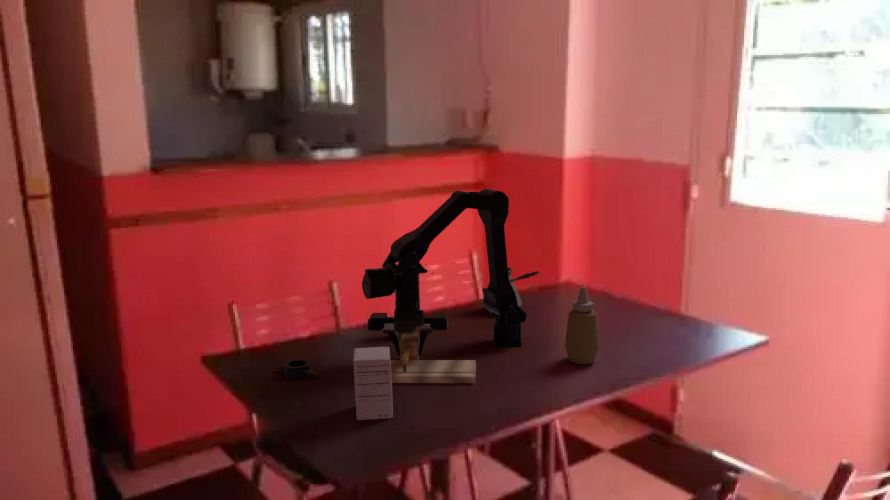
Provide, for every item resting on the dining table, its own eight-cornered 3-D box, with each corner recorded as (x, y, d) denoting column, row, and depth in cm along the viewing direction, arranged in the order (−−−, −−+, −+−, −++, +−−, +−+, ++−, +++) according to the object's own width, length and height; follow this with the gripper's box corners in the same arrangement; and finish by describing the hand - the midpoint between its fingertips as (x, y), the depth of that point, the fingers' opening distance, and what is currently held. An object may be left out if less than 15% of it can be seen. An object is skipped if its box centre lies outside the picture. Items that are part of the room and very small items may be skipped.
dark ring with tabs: (287, 386, 161) (286, 373, 160) (276, 371, 170) (275, 359, 169) (320, 379, 164) (319, 367, 164) (308, 365, 173) (307, 353, 173)
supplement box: (356, 405, 150) (353, 347, 147) (392, 403, 150) (390, 345, 147) (355, 421, 142) (352, 360, 140) (393, 418, 143) (390, 358, 140)
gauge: (419, 357, 176) (418, 333, 175) (413, 381, 162) (412, 355, 160) (403, 357, 177) (402, 334, 175) (395, 381, 162) (394, 355, 161)
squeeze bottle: (602, 357, 173) (604, 284, 170) (594, 368, 166) (596, 293, 163) (569, 353, 177) (570, 281, 173) (560, 364, 170) (561, 290, 166)
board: (475, 366, 169) (475, 359, 169) (475, 383, 160) (475, 376, 159) (382, 366, 171) (382, 359, 170) (376, 382, 161) (375, 375, 161)
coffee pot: (474, 311, 213) (473, 261, 210) (504, 304, 219) (503, 255, 216) (524, 328, 196) (524, 275, 193) (554, 320, 203) (554, 268, 200)
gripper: (362, 302, 163) (365, 368, 166) (444, 302, 162) (446, 368, 165) (370, 289, 174) (373, 351, 177) (447, 289, 172) (449, 351, 176)
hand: (409, 355), depth 173 cm, fingers open, 5 cm apart
